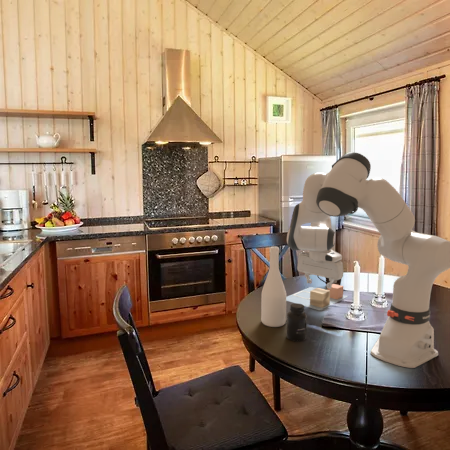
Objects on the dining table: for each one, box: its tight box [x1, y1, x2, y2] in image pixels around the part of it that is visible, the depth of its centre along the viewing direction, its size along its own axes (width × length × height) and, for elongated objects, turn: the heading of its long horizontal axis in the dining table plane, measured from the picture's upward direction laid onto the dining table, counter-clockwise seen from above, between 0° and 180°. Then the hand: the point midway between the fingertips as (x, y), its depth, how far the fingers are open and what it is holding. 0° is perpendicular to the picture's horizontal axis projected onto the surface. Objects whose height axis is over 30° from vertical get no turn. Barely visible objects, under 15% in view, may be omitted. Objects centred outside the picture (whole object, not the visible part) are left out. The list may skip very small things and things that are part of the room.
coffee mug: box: [316, 275, 343, 286], centre depth 196 cm, size 12×9×10 cm
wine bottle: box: [260, 245, 287, 328], centre depth 153 cm, size 10×10×30 cm
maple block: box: [310, 287, 330, 308], centre depth 171 cm, size 6×6×6 cm
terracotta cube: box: [327, 284, 344, 299], centre depth 180 cm, size 5×5×5 cm
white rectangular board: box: [286, 286, 349, 311], centre depth 180 cm, size 24×20×1 cm
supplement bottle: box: [286, 303, 308, 342], centre depth 141 cm, size 7×7×12 cm
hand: (318, 285), depth 169 cm, fingers open, 8 cm apart
